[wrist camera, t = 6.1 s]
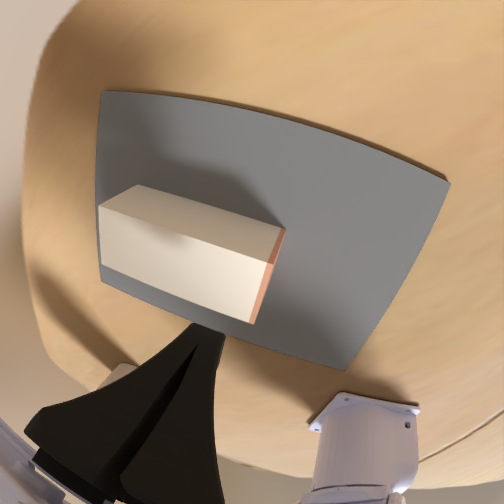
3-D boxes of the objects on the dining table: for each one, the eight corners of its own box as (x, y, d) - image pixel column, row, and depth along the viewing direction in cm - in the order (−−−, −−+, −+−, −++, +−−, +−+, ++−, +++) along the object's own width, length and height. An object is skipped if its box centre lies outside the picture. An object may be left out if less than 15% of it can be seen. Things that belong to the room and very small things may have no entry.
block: (273, 264, 13) (98, 205, 14) (253, 324, 15) (101, 264, 16) (286, 229, 17) (137, 184, 18) (268, 283, 19) (135, 236, 20)
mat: (448, 181, 13) (451, 183, 13) (344, 367, 21) (344, 371, 21) (105, 90, 15) (101, 90, 15) (103, 279, 24) (101, 281, 23)
